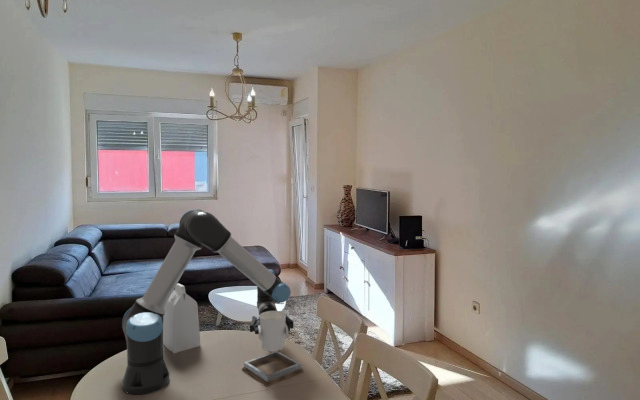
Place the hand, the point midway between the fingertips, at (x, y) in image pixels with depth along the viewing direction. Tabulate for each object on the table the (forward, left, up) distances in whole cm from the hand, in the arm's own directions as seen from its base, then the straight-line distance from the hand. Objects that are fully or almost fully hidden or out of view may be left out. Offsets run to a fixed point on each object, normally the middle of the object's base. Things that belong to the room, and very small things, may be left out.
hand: (273, 334), depth 151 cm
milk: (-13, +49, -16) cm, 53 cm away
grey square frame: (+2, +4, -16) cm, 16 cm away
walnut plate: (+2, +4, -16) cm, 16 cm away
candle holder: (+2, +4, -7) cm, 8 cm away
